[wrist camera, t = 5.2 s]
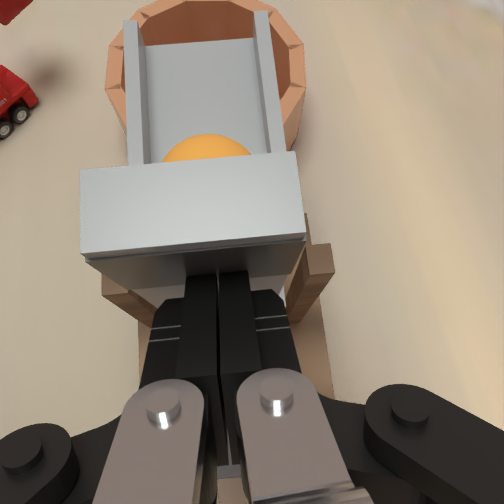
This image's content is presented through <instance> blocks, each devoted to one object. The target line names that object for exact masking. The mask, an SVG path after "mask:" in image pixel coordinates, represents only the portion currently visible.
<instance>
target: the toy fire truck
mask: <svg viewBox="0 0 504 504" xmlns="http://www.w3.org/2000/svg"><path fill="white" fill-rule="evenodd" d="M32 1H33V0H0V23H1V24H3V25H7V24H9V23H10V22H11V20H13V19H14V18H15V17H16V16H17V15H18V14H20V12H21V11H22V10H23V9H25V8H26V7H27V6H28V5H29V4H30V3H31V2H32ZM37 102H38V98H37V97H36V95H35V94H34V92H33V91H32V89H31V88H30V86H29V85H28V83H26V82H25V81H23V80H22V79H21V78H19V77H18V76H17V75H15V74H14V73H13V72H11V71H10V70H8V69H7V68H6V67H4V66H3V65H0V138H5V137H7V136H9V135H10V134H11V132H12V125H11V123H10V122H9V120H10V119H12V120H13V121H15V122H17V123H22V122H24V121H25V120H26V119H27V118H28V115H29V111H28V109H27V108H26V107H25V106H28V107H33V106H34V105H35V104H36V103H37Z"/></svg>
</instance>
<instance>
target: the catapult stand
mask: <svg viewBox="0 0 504 504" xmlns="http://www.w3.org/2000/svg"><path fill="white" fill-rule="evenodd" d="M304 218H305V225H306V240H307V241H306V243H305V245H304V247H303V250H302V252H301V254H300V256H299V258H298V260H297V262H296V265H295V267H294V269H293V271H292V273H291V274H288V276H287V278H286V280H285V282H284V285H283V286H284V294H285V302H286V308H285V309H286V313H287V316H288V320H289V324H290V328H291V332H292V336H293V340H294V344H295V348H296V352H297V356H298V360H299V364H300V368H301V372H302V375H304V376H306V377H307V378H308V379H309V380H310V381H311V382H312V383H313V385H314V387H315V389H316V391H317V392H318V393H320V394H321V395H323V396H326V397H328V398H331V399H334V400H335V398H334V391H333V385H332V378H331V371H330V365H329V358H328V352H327V345H326V338H325V332H324V325H323V319H322V312H321V305H320V299H319V295H320V293H321V292H322V290H323V289H324V288H325V286H326V285H327V283H328V282H329V280H330V279H331V278H332V276H333V275H334V273H335V268H334V262H333V256H332V250H331V244H330V243H328V244H317V245H311V239H310V233H309V226H308V220H307V213H304ZM102 296H103V297H105V298H106V299H108V300H109V301H110V302H112V303H113V304H115V305H116V306H118V307H119V308H121V309H122V310H124V311H125V312H127V313H128V314H130V315H131V316H132V317H134V318H135V319H137V320H138V337H139V374H140V381H141V376H142V371H143V366H144V361H145V357H146V352H147V347H148V342H149V337H150V332H151V330H152V323H153V318H154V313H155V311H156V310H157V309H158V308H156V307H155V306H154V305H152V304H151V303H149V302H148V301H147V300H145V299H144V298H142V297H141V296H140V295H138V294H137V293H135V292H134V291H132V290H126V289H124V288H123V287H122V286H120V285H119V284H117V283H116V282H114V281H113V280H111V279H110V278H108V277H107V276H105V275H104V274H102Z"/></svg>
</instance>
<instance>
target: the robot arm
mask: <svg viewBox="0 0 504 504" xmlns="http://www.w3.org/2000/svg"><path fill="white" fill-rule="evenodd" d="M228 436H229V444H230V452H231V459H232V465H237V464H240V468H241V477H242V485H243V490H244V493H245V496H246V497H247V499H248V504H504V431H503V430H501V429H499V428H497V427H495V426H493V425H492V424H490V423H488V422H486V421H484V420H482V419H480V418H479V417H477V416H475V415H473V414H471V413H469V412H467V411H466V410H464V409H462V408H460V407H458V406H456V405H454V404H453V403H451V402H449V401H447V400H445V399H443V398H441V397H440V396H438V395H436V394H434V393H432V392H430V391H428V390H426V389H423V388H420V387H417V386H413V385H407V384H393V385H388V386H384V387H382V388H379V389H377V390H376V391H375V392H373V393H372V394H371V395H370V396H369V398H368V400H367V402H366V405H362V404H356V403H349V402H343V401H338V400H334V399H331V398H328V397H326V396H323V395H321V394H320V393H318V392H317V391H316V389H315V387H314V385H313V383H312V382H311V381H310V380H309V379H308V378H307V377H306V376H304V375H302V372H301V368H300V364H299V360H298V356H297V352H296V348H295V344H294V340H293V336H292V332H291V328H290V324H289V320H288V316H287V313H286V309H285V305H284V301H283V299H282V298H281V297H280V296H279V295H278V294H277V293H276V292H274V291H273V290H272V289H265V290H255V291H251V288H250V281H249V274H248V271H243V272H233V273H222V274H219V289H218V281H217V276H216V274H211V275H201V276H190V277H186V282H185V292H184V297H182V298H172V299H166V300H165V301H164V302H163V303H162V304H161V305H160V307H159V308H158V309H157V310H156V311H155V313H154V318H153V323H152V330H151V332H150V337H149V342H148V347H147V352H146V357H145V361H144V366H143V371H142V376H141V381H140V386H139V390H138V391H137V392H136V393H135V394H133V395H132V397H131V398H130V399H129V400H128V402H127V403H126V405H125V407H124V409H123V412H122V414H121V415H120V416H119V417H117V418H116V419H114V420H113V421H111V422H109V423H107V424H105V425H103V426H101V427H98V428H95V429H93V430H90V431H87V432H85V433H82V434H79V435H76V436H74V437H71V438H70V435H69V434H68V432H67V431H66V430H65V429H64V428H62V427H60V426H58V425H55V424H49V423H41V424H34V425H30V426H26V427H23V428H21V429H18V430H16V431H14V432H12V433H10V434H8V435H7V436H5V437H4V438H2V439H1V440H0V504H220V499H219V493H218V487H217V466H226V465H229V455H228Z"/></svg>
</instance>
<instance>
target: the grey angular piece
mask: <svg viewBox="0 0 504 504" xmlns="http://www.w3.org/2000/svg"><path fill="white" fill-rule="evenodd" d="M123 39H124V67H125V95H126V123H127V151H128V166H118V167H106V168H95V169H83V170H80V254H82V255H83V256H84V257H85V262H86V263H88V264H89V265H91V266H92V267H94V268H95V269H96V270H98V271H99V272H101V273H102V274H104V275H105V276H107V277H108V278H110V279H111V280H113V281H114V282H116V283H117V284H119V285H120V286H122V287H123V288H124V289H126V290H132V291H134V292H135V293H137V294H138V295H140V296H141V297H142V298H144V299H145V300H147V301H148V302H149V303H151V304H152V305H154V306H155V307H156V308H159V307H160V305H161V304H162V303H163V302H164V301H165V300H166V299H172V298H182V297H184V292H185V282H186V277H190V276H201V275H211V274H216V276H217V281H218V289H219V274H222V273H233V272H243V271H248V274H249V281H250V288H251V291H255V290H265V289H272V290H273V291H274V292H276V293H277V294H278V295H279V296H280V297H281V298H282V299H283V301H284V305H285V308H286V302H285V294H284V286H283V285H284V282H285V280H286V278H287V276H288V274H291V273H292V271H293V269H294V267H295V265H296V262H297V260H298V258H299V256H300V254H301V252H302V250H303V247H304V245H305V243H306V241H307V240H306V225H305V218H304V211H303V204H302V197H301V190H300V183H299V176H298V168H297V161H296V154H295V151H288V152H287V151H286V144H285V137H284V129H283V122H282V114H281V107H280V100H279V92H278V85H277V77H276V70H275V62H274V55H273V48H272V40H271V33H270V25H269V18H268V11H267V10H262V11H254V16H253V38H244V39H231V40H218V41H205V42H192V43H179V44H167V45H154V46H145V44H144V41H143V38H142V34H141V31H140V28H139V25H138V22H137V20H130V21H123ZM201 134H217V135H222V136H225V137H228V138H230V139H232V140H235V141H236V142H238V143H239V144H241V145H242V146H243V147H245V148H246V149H247V150H248V151H249V152H250V153H251V155H242V156H231V157H220V158H208V159H197V160H186V161H174V162H163V163H162V161H163V159H164V158H165V156H166V155H167V153H168V152H169V151H170V150H171V149H172V148H173V147H174V146H176V145H177V144H178V143H180V142H181V141H183V140H185V139H187V138H189V137H192V136H195V135H201ZM228 455H229V465H226V466H217V479H224V478H233V477H241V468H240V464H237V465H232V459H231V452H230V444H229V436H228Z"/></svg>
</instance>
